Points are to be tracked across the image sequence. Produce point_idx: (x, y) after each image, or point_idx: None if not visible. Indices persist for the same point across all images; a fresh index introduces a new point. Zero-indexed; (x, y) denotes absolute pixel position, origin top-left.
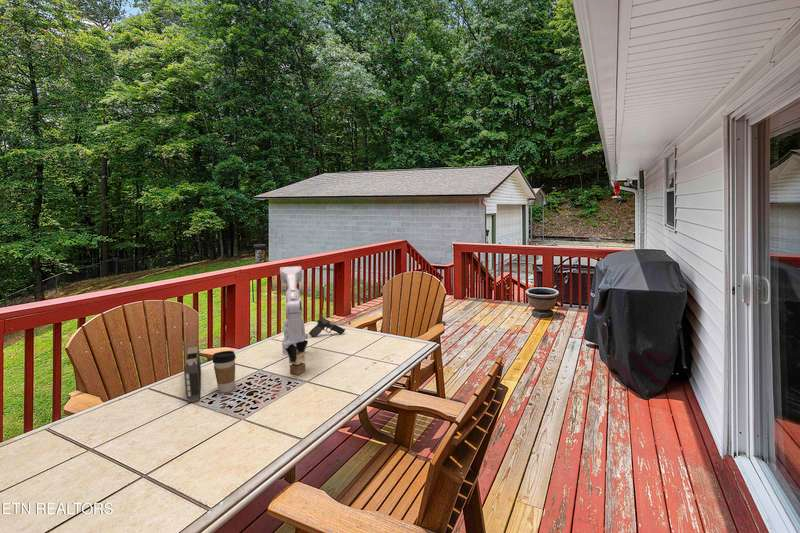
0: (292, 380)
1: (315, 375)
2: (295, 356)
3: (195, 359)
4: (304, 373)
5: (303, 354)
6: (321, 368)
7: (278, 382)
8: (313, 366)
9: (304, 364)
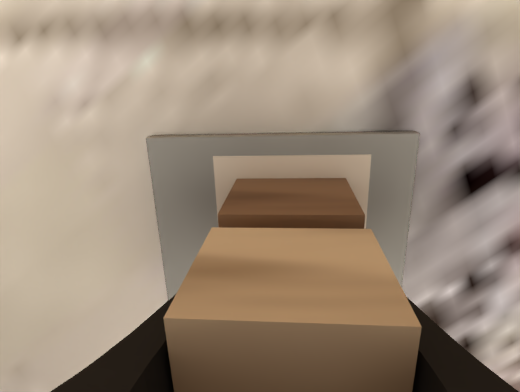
0: (422, 185)
1: (232, 45)
2: (434, 347)
3: None
4: (270, 164)
5: (204, 292)
6: (65, 108)
7: (498, 271)
8: (74, 211)
9: (230, 209)
